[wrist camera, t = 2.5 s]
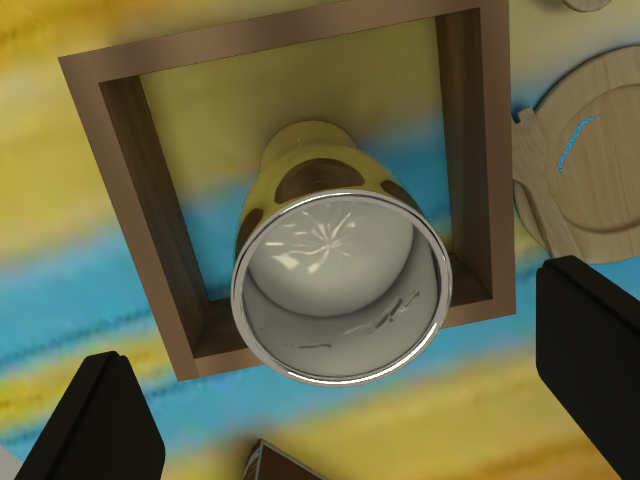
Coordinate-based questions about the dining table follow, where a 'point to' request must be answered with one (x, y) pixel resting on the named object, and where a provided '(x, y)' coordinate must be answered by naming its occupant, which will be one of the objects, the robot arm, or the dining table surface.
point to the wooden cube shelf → (276, 31)
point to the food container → (276, 465)
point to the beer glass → (335, 263)
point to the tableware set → (583, 159)
